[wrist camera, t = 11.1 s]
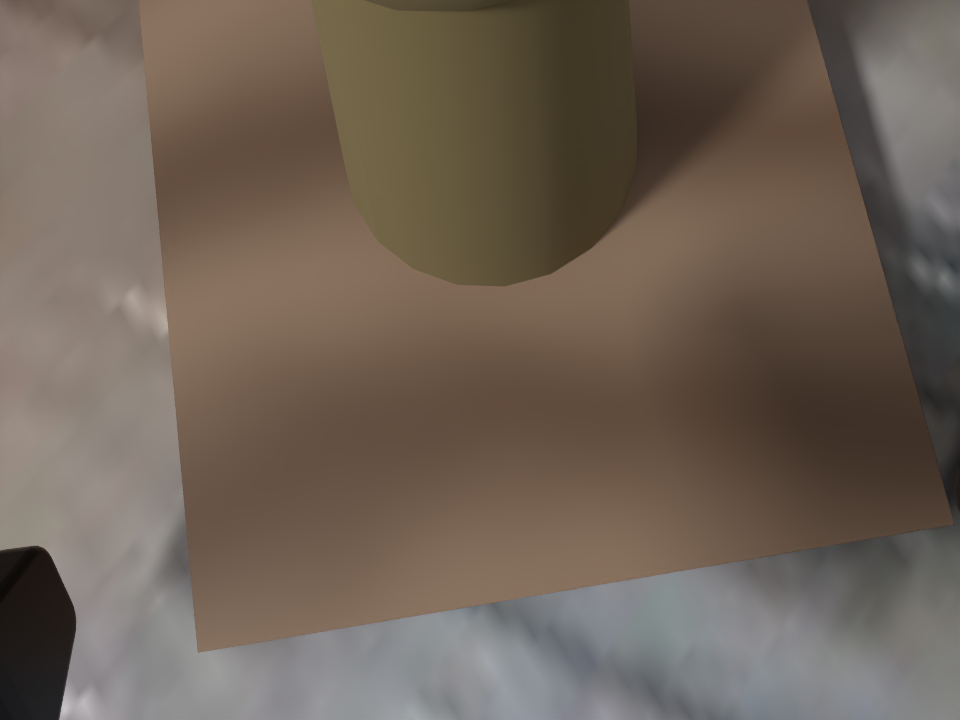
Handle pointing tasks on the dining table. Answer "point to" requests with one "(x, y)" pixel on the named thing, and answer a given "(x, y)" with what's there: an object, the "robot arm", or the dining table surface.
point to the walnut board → (520, 341)
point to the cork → (483, 128)
